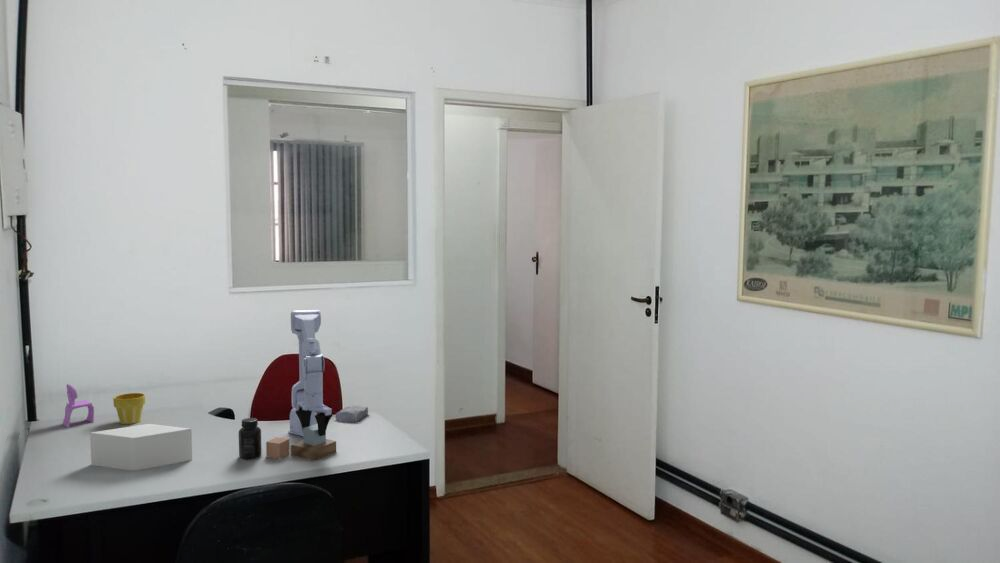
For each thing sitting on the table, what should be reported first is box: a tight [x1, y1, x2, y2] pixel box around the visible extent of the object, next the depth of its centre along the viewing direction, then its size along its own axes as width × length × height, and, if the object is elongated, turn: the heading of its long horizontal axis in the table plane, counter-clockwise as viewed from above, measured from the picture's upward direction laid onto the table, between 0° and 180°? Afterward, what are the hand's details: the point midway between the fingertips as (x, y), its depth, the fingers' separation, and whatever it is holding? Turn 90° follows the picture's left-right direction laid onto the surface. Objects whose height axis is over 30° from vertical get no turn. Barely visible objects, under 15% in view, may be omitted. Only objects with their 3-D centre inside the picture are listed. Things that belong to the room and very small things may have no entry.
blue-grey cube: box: [302, 424, 327, 446], centre depth 226 cm, size 5×5×5 cm
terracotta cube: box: [265, 436, 290, 460], centre depth 224 cm, size 5×5×5 cm
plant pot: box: [112, 392, 146, 425], centre depth 257 cm, size 10×10×10 cm
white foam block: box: [89, 423, 193, 472], centre depth 215 cm, size 14×29×10 cm, turn 101°
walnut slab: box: [290, 438, 337, 462], centre depth 226 cm, size 10×10×4 cm
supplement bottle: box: [238, 417, 263, 461], centre depth 222 cm, size 7×7×12 cm
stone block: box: [335, 405, 369, 423], centre depth 268 cm, size 12×5×10 cm
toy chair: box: [61, 383, 95, 428], centre depth 254 cm, size 8×9×15 cm
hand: (313, 433), depth 226 cm, fingers open, 7 cm apart
